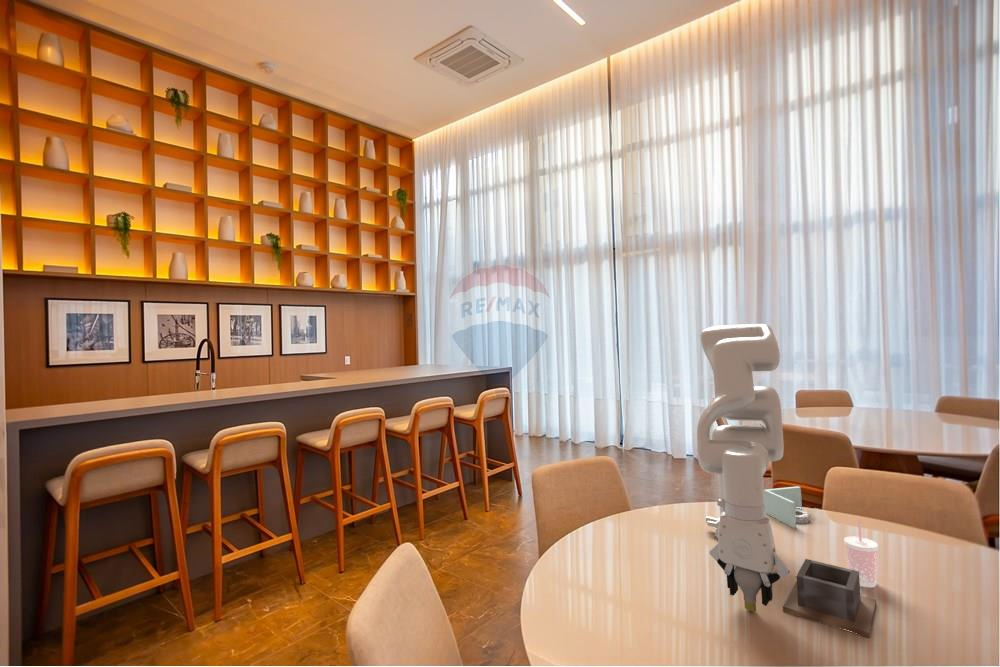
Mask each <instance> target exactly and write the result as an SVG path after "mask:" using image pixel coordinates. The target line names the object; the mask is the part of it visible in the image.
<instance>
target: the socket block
mask: <svg viewBox="0 0 1000 667" xmlns="http://www.w3.org/2000/svg"><path fill="white" fill-rule="evenodd" d="M813 577H814V578H813ZM795 578H796V580H795V583H794V584H793V586H792V587H791V590H790V591H789V594H788V596H787V598H786V600H785V602H784V603H783V605H782V611H783V612H784V613H788V614H790V615H795V616H797V617H800V618H803V619H806V620H809V619H810V621H813V622H817V623H819V622H820V623H819V624H822V623H823V624H822V625H825V624H828V625H827V626H829V625H831V626H830V627H832V626H834V627H833V628H835V627H836V629H838V628H841V629H840V630H842V629H846V630H849V631H852V632H854V633H857V634H856V635H858V634H859V635H858V636H861V637H864V636H865V638H867V637H868V638H867V639H870V637H871V632H872V628H871V627H872V626H873V623H874V617H875V613H876V608H877V599H875V598H872V597H868V596H864V595H861V586H860V580H859V571H855V570H851V569H849V568H847V567H846V568H845V567H841V566H837V565H833V564H829V563H825V562H821V561H816V560H813V559H807V558H805V559H804V561H803V562H802V565H801V567H800V569H799V570H798V571H797V574H796V576H795ZM816 578H818V579H816ZM820 579H822V580H820ZM824 580H826V581H824ZM828 581H830V582H828ZM832 582H833V583H832ZM836 583H837V584H836ZM840 584H841V585H840ZM844 585H845V586H844ZM854 633H853V634H854Z"/></svg>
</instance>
